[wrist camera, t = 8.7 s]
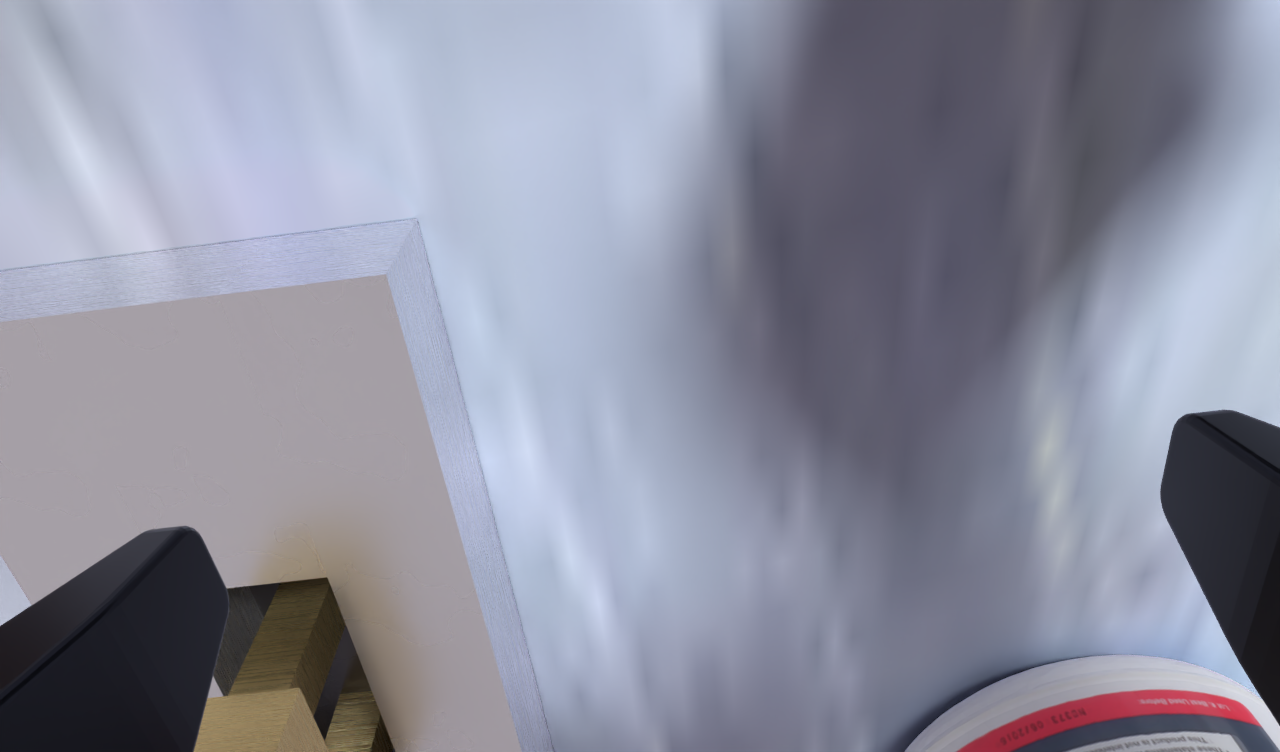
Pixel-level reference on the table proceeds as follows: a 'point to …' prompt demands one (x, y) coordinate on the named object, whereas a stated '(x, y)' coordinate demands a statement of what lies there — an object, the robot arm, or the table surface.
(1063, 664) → the supplement tub
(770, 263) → the table surface
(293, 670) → the tan pronged block
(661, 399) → the table surface
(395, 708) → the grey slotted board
